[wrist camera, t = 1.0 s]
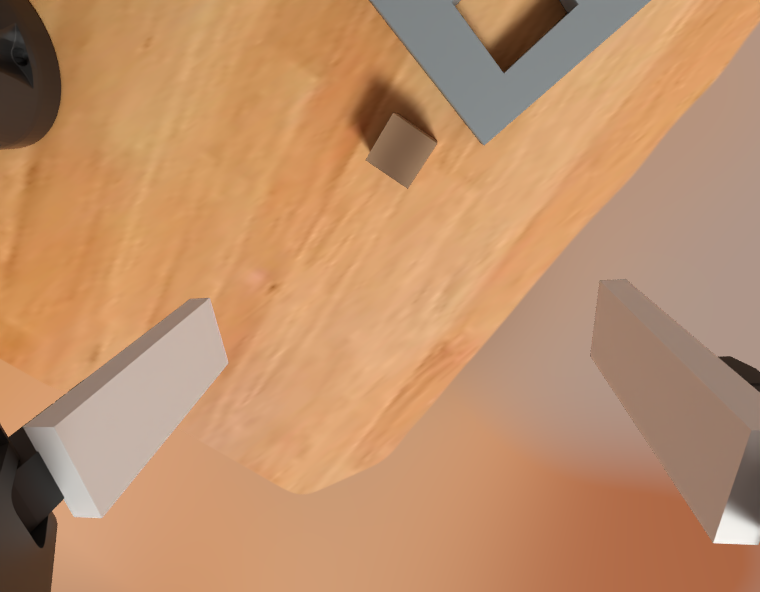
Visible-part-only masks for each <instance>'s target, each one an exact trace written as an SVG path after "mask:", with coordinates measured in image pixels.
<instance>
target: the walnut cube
mask: <svg viewBox="0 0 760 592" xmlns="http://www.w3.org/2000/svg"><path fill="white" fill-rule="evenodd" d="M436 145H437V140H435V139H434V138H432V137H431V136H429V135H428V134H427V133H425V132H424V131H422V130H421V129H419V128H418V127H417V126H415V125H414V124H412V123H411V122H410V121H408V120H407V119H405V118H404V117H402V116H401V115H400V114H398V113H393V114H392V116H391V117H390V119H389V121H388V122H387V124H386V126H385V128H384V129H383V131H382V133H381V134H380V136H379V138H378V140H377V141H376V143H375V145H374V146H373V148H372V150H371V151H370V153H369V155H368V157H367V158H366V161H368V162H369V163H370V164H372V165H373V166H375V167H376V168H378V169H379V170H381V171H382V172H384V173H385V174H387V175H388V176H390V177H391V178H393V179H394V180H396V181H397V182H399V183H400V184H401V185H403V186H404V187H406V188H407V189H408V188H409V186H410V185H411V183H412V182H413V180H414V179H415V177H416V175H417V174H418V172H419V171H420V169H421V168H422V166H423V165H424V163H425V162H426V160H427V159H428V157H429V156H430V154H431V153H432V151H433V149H434V148H435V146H436Z"/></svg>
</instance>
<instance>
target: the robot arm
mask: <svg viewBox="0 0 760 592" xmlns="http://www.w3.org/2000/svg"><path fill="white" fill-rule="evenodd" d="M60 97H61V80H60V72H59V67H58V62H57V58H56V55H55V51H54V48H53V45H52V43H51V40H50V38H49V36H48V33H47V31H46V29H45V27H44V25H43V23H42V22H41V20H40V18H39V17H38V15H37V13H36V12H35V10H34V9H33V7H32V6H31V5H30V3H29V2H28V1H27V0H0V150H1V149H15V148H22V147H26V146H29V145H31V144H34V143H35V142H37V141H39V140H40V139H41V138H42V137H43V136H44V135H46V133H47V132H48V131H49V130H50V128H51V127H52V125H53V123H54V121H55V119H56V116H57V113H58V110H59V105H60ZM590 356H591V358H592V359H593V361H594V362H595V364H596V365H597V367H598V369H599V370H600V372H601V373H602V375H603V376H604V378H605V379H606V381H607V382H608V384H609V385H610V387H611V388H612V390H613V391H614V393H615V394H616V396H617V397H618V399H619V400H620V402H621V404H622V405H623V407H624V408H625V410H626V411H627V413H628V414H629V416H630V417H631V419H632V420H633V422H634V423H635V425H636V426H637V428H638V429H639V431H640V432H641V434H642V435H643V437H644V439H645V440H646V442H647V443H648V445H649V446H650V448H651V449H652V451H653V452H654V454H655V455H656V457H657V458H658V460H659V461H660V463H661V464H662V466H663V467H664V469H665V470H666V472H667V473H668V475H669V476H670V478H671V479H672V481H673V483H674V484H675V486H676V487H677V489H678V490H679V492H680V493H681V495H682V496H683V498H684V499H685V501H686V502H687V504H688V505H689V507H690V508H691V510H692V512H693V513H694V514H695V516H696V518H697V519H698V521H699V522H700V524H701V525H702V527H703V528H704V530H705V531H706V533H707V534H708V536H709V537H710V539H711V540H712V542H713V543H726V544H750V545H758V544H759V541H760V372H759V371H758V370H757V369H756V368H753V367H751V366H749V365H747V364H745V363H743V362H741V361H739V360H737V359H735V358H733V357H730V356H727V357H717V356H716V355H715V354H714V353H713V352H711V351H710V350H709V349H708V348H707V347H705V346H704V345H703V344H702V343H701V342H700V341H698V340H697V339H696V338H695V337H694V336H692V335H691V334H690V333H689V332H688V331H687V330H685V329H684V328H683V327H682V326H680V325H679V324H678V323H677V322H676V321H674V319H672V318H671V317H670V316H669V315H668V314H666V313H665V312H664V311H663V310H662V309H661V308H659V307H658V306H657V305H656V304H655V303H653V302H652V301H651V300H650V299H649V298H648V297H646V296H645V295H644V294H643V293H642V292H640V291H639V290H638V289H637V288H636V287H635V286H633V285H632V284H631V283H630V282H629V281H627V280H626V279H621V280H600V282H599V290H598V298H597V306H596V313H595V321H594V330H593V337H592V346H591V353H590ZM227 364H228V359H227V356H226V352H225V349H224V345H223V342H222V339H221V335H220V332H219V328H218V325H217V321H216V318H215V314H214V311H213V307H212V304H211V300H210V298H198V299H189V300H188V301H187V302H185V303H184V304H183V305H181V306H180V307H179V308H178V309H176V310H175V311H174V312H172V313H171V314H170V315H168V316H167V317H166V318H164V319H163V320H162V321H161V322H159V323H158V324H157V325H155V326H154V327H153V328H151V329H150V330H149V331H147V332H146V333H145V334H144V335H142V336H141V337H140V338H138V339H137V340H136V341H134V342H133V343H132V344H130V345H129V346H128V347H127V348H125V349H124V350H123V351H121V352H120V353H119V354H117V355H116V356H115V357H113V358H112V359H111V360H110V361H108V362H107V363H106V364H104V365H103V366H102V367H100V368H99V369H98V370H97V371H95V372H94V373H93V374H91V375H90V376H89V377H87V378H86V379H84V380H83V381H82V382H80V383H79V384H78V385H76V386H75V387H74V388H72V389H71V390H70V391H68V393H67V394H65V395H63V396H62V397H61V398H59V399H58V400H57V401H56V402H55V403H54V404H51V405H50V406H49V407H47V408H46V409H45V410H44V411H42V412H41V413H40V414H38V415H37V416H36V417H34V418H33V419H32V420H31V421H29V422H28V423H27V424H25V425H24V426H23V427H21V428H20V429H19V430H17V431H16V432H15V433H13V434H12V435H11V436H9V437H8V436H7V434H6V433H5V431H4V429H3V428H2V426H1V424H0V592H51V583H52V573H53V563H54V553H55V543H56V532H57V521H56V517H55V515H54V514H53V512H52V510H53V509H54V508H55V507H56V506H57V505H58V504H59V503H60V502H61V501H62V500H63V499H64V501H65V502H66V504H67V506H68V507H69V509H70V511H71V513H72V514H73V516H74V517H87V518H88V517H89V518H103V516H104V515H105V514H106V513H107V512H108V510H109V509H110V508H111V507H112V505H113V504H114V503H115V502H116V501H117V499H118V498H119V497H120V496H121V494H122V493H123V492H124V490H126V488H127V487H128V486H129V484H130V483H131V482H132V481H133V480H134V478H135V477H136V476H137V475H138V473H139V472H140V471H141V470H142V469H143V467H144V466H145V465H146V464H147V462H148V461H149V460H150V459H151V458H152V456H153V455H154V454H155V453H156V451H157V450H158V449H159V448H160V446H161V445H162V444H163V443H164V442H165V440H166V439H167V438H168V437H169V436H170V434H171V433H172V432H173V431H174V429H175V428H176V427H177V426H178V424H179V423H180V422H181V421H182V420H183V418H184V417H185V416H186V415H187V413H188V412H189V411H190V410H191V409H192V407H193V406H194V405H195V404H196V402H197V401H198V400H199V399H200V398H201V396H202V395H203V394H204V393H205V391H206V390H207V389H208V388H209V386H210V385H211V384H212V383H213V382H214V380H215V379H216V378H217V377H218V375H219V374H220V373H221V372H222V371H223V369H224V368H225V367H226V366H227Z"/></svg>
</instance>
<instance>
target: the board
mask: <svg viewBox="0 0 760 592" xmlns="http://www.w3.org/2000/svg"><path fill="white" fill-rule="evenodd" d="M369 1H370V2H371V4H372V5H373V6H374V7H375V9H376V10H377V11H378V13H379V14H380V15H381V16H382V18H383V19H384V20H385V21H386V23H387V24H388V25H389V27H390V28H391V29H392V30H393V32H394V33H395V34H396V36H397V37H398V38H399V39H400V41H401V42H402V43H403V44H404V46H405V47H406V48H407V50H408V51H409V52H410V53H411V55H412V56H413V57H414V59H415V60H416V61H417V62H418V64H419V65H420V66H421V68H422V69H423V70H424V71H425V73H426V74H427V75H428V76H429V78H430V79H431V80H432V82H433V83H434V84H435V85H436V87H437V88H438V89H439V91H440V92H441V93H442V94H443V96H444V97H445V98H446V100H447V101H448V102H449V103H450V105H451V106H452V107H453V108H454V110H455V111H456V112H457V114H458V115H459V116H460V117H461V119H462V120H463V121H464V123H465V124H466V125H467V126H468V128H469V129H470V130H471V131H472V133H473V134H474V135H475V137H476V138H477V139H478V140H479V142H480V143H481V144H483V145H485V144H486V143H488V142H489V141H490V140H491V139H492V138H493V137H494V136H496V135H497V134H498V133H499V132H500V131H501V130H503V129H504V128H505V127H506V126H507V125H508V124H509V123H511V122H512V121H513V120H514V119H515V118H516V117H517V116H519V115H520V114H521V113H522V112H523V111H524V110H526V109H527V108H528V107H529V106H530V105H531V104H532V103H534V102H535V101H536V100H537V99H538V98H539V97H540V96H542V95H543V94H544V93H545V92H546V91H547V90H548V89H550V88H551V87H552V86H553V85H554V84H555V83H557V82H558V81H559V80H560V79H561V78H562V77H563V76H565V75H566V74H567V73H568V72H569V71H570V70H571V69H573V68H574V67H575V66H576V65H577V64H578V63H580V62H581V61H582V60H583V59H584V58H585V57H586V56H588V55H589V54H590V53H591V52H592V51H593V50H594V49H596V48H597V47H598V46H599V45H600V44H601V43H602V42H604V41H605V40H606V39H607V38H608V37H609V36H611V35H612V34H613V33H614V32H615V31H616V30H617V29H619V28H620V27H621V26H622V25H623V24H624V23H625V22H627V21H628V20H629V19H630V18H631V17H632V16H634V15H635V14H636V13H637V12H638V11H639V10H640V9H642V8H643V7H644V6H645V5H646V4H647V3H648V2H650V1H651V0H559V1H560V2H561V4H562V5H563V7H564V8H565V10H566V11H567V14H566V15H565V16H564V17H563V18H562V19H561V20H560V21H559V22H558V23H556V24H555V25H554V26H553V27H552V28H551V29H550V30H549V31H548V32H547V33H546V34H545V35H544V36H542V37H541V38H540V39H539V40H538V41H537V42H536V43H535V44H534V45H533V46H532V47H531V48H530V49H529V50H527V51H526V52H525V53H524V54H523V55H522V56H521V57H520V58H519V59H518V60H517V61H516V62H515V63H513V64H512V65H511V66H510V67H509V68H508V69H507V70H506V71H505V72H504V73H503V72H502V70H501V69H500V67H499V66H498V65H497V63H496V62H495V61H494V59H493V58H492V57H491V55H490V54H489V52H488V51H487V50H486V48H485V47H484V46H483V44H482V43H481V41H480V40H479V39H478V37H477V36H476V35H475V33H474V32H473V31H472V29H471V28H470V26H469V25H468V24H467V22H466V21H465V20H464V18H463V17H462V16H461V14H460V13H459V11H458V10H457V9H456V7H455V6H456V5H457V4H458V3H459V1H460V0H369Z"/></svg>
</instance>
